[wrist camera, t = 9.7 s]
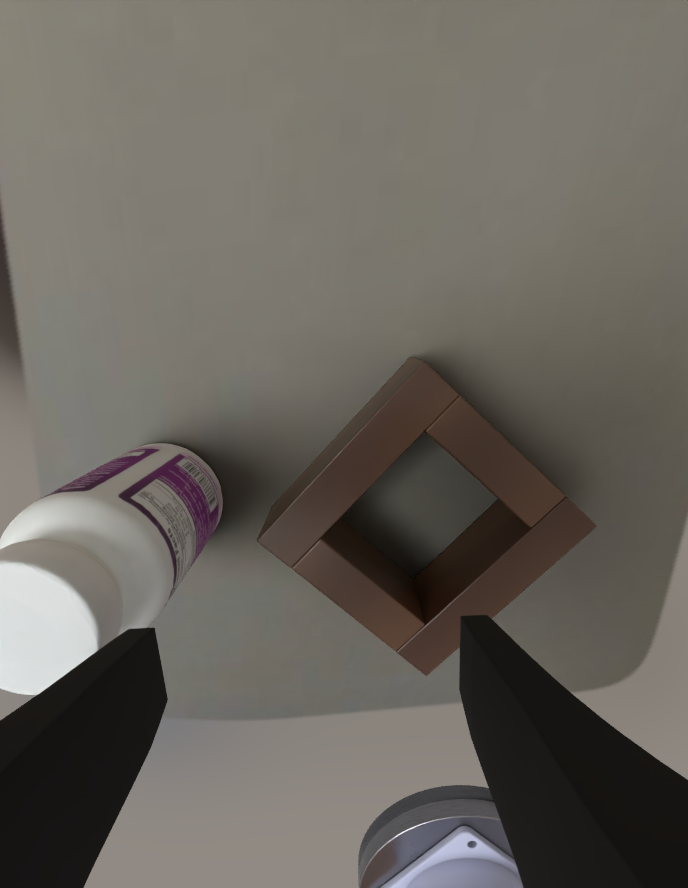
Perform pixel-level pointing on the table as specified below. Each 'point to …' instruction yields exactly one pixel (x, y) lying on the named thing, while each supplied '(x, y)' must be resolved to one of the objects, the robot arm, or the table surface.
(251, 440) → the table surface
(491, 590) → the frame
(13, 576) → the pill bottle
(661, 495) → the table surface
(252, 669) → the table surface
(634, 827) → the robot arm
